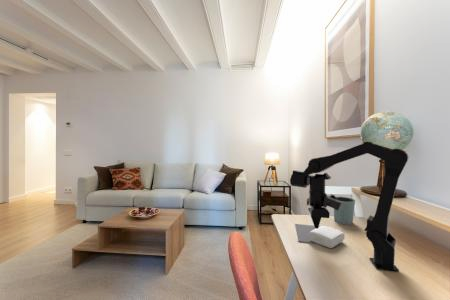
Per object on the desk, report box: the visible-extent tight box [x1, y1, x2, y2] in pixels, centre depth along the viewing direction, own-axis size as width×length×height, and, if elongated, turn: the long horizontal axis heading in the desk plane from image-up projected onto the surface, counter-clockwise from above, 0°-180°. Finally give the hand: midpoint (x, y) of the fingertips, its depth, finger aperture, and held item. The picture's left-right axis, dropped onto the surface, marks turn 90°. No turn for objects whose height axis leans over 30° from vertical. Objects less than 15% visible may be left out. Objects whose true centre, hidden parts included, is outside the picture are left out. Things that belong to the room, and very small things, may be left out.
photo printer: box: [308, 225, 345, 249], centre depth 93 cm, size 10×4×12 cm
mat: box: [294, 223, 321, 245], centre depth 101 cm, size 20×13×1 cm, turn 166°
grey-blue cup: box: [333, 196, 356, 226], centre depth 117 cm, size 10×10×12 cm
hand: (316, 228), depth 90 cm, fingers closed
